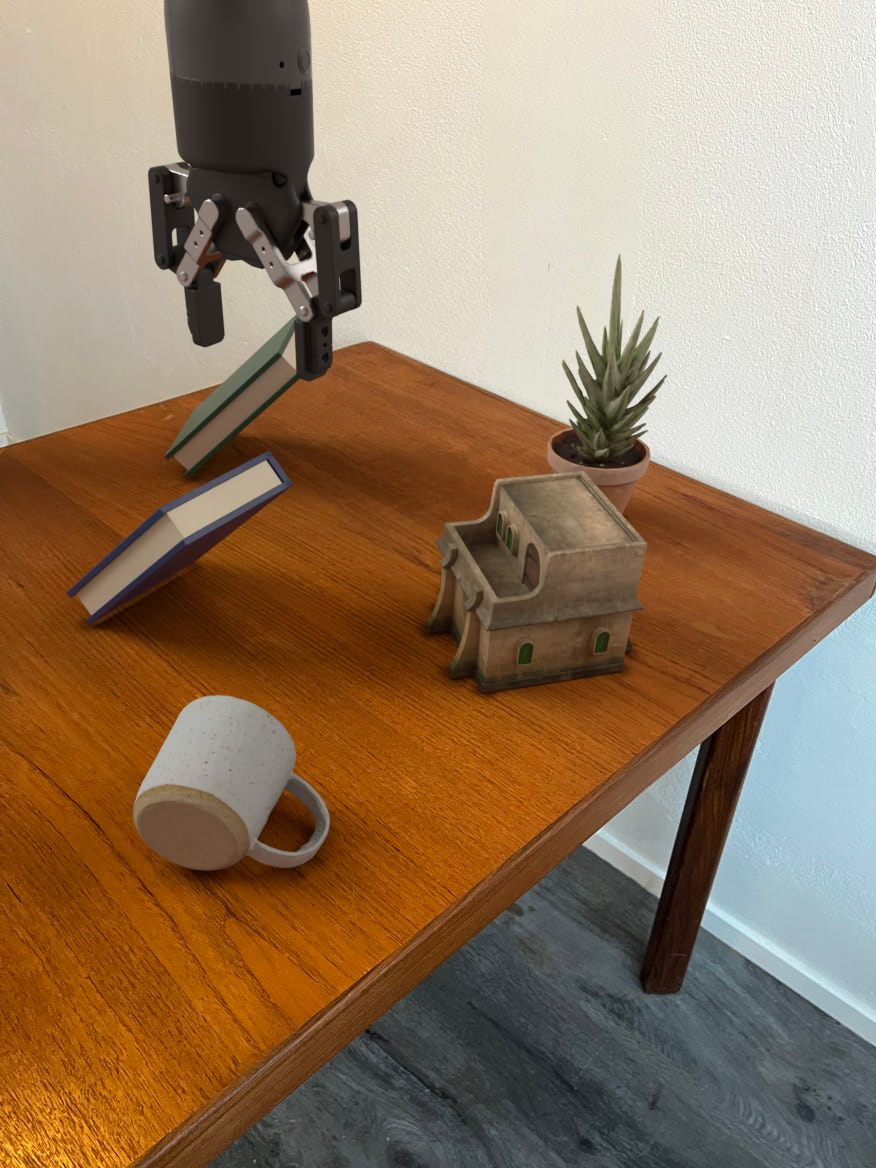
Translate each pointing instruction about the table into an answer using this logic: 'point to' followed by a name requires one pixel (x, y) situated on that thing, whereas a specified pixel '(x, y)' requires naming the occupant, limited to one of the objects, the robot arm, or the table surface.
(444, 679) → the table surface
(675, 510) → the table surface
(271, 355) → the green book
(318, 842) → the ceramic mug
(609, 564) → the miniature house
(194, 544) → the navy book
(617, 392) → the potted plant
